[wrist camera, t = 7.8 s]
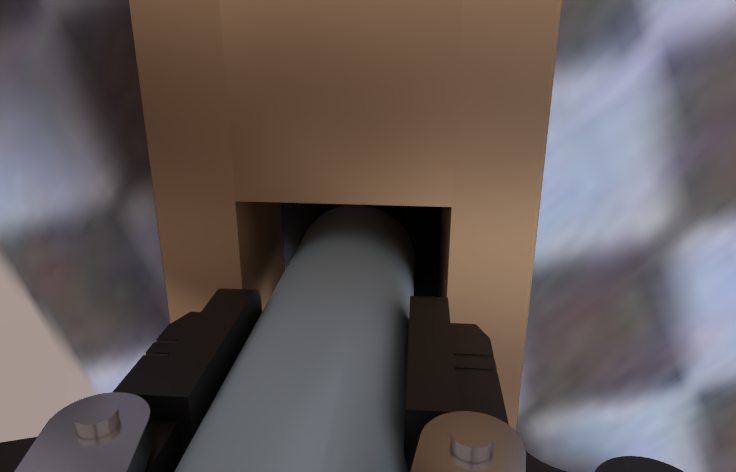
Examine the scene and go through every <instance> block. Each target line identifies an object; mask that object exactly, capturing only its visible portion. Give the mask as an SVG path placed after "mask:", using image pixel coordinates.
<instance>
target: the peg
mask: <svg viewBox="0 0 736 472" xmlns="http://www.w3.org/2000/svg"><path fill="white" fill-rule="evenodd" d="M414 271H415V255H414V249H413V245H412V242H411V240H410V238H409V236H408V234H407V232H406V231H405V229H404V228H403V227H402V226H401V224H400V223H399V222H398V221H397V220H395V219H394V218H393V217H392V216H390V215H389V214H387V213H386V212H384V211H382V210H380V209H377V208H374V207H371V206H366V205H344V206H340V207H336V208H333V209H331V210H329V211H327V212H325V213H324V214H322V215H321V216H320V217H318V218H317V219H316V220H315V221H314V222H313V223H312V224H311V225H310V227H309V228H308V230H307V231H306V233H305V235H304V237H303V239H302V241H301V242H300V244H299V246H298V248H297V250H296V251H295V253H294V255H293V257H292V259H291V261H290V262H289V264H288V266H287V268H286V270H285V271H284V273H283V275H282V277H281V279H280V281H279V282H278V284H277V286H276V288H275V290H274V291H273V293H272V295H271V297H270V299H269V301H268V302H267V304H266V306H265V308H264V310H263V311H262V313H261V315H260V317H259V319H258V321H257V322H256V324H255V326H254V328H253V330H252V331H251V333H250V335H249V337H248V339H247V341H246V342H245V344H244V346H243V348H242V350H241V351H240V353H239V355H238V357H237V359H236V361H235V362H234V364H233V366H232V368H231V370H230V371H229V373H228V375H227V377H226V379H225V381H224V382H223V384H222V386H221V388H220V390H219V391H218V393H217V395H216V397H215V399H214V401H213V402H212V404H211V406H210V408H209V410H208V411H207V413H206V415H205V417H204V419H203V421H202V422H201V424H200V426H199V428H198V430H197V431H196V433H195V435H194V437H193V439H192V441H191V442H190V444H189V446H188V448H187V450H186V451H185V453H184V455H183V457H182V459H181V461H180V462H179V464H178V466H177V468H176V470H175V471H174V472H408V469H407V464H406V460H405V457H404V441H405V407H406V383H407V359H408V335H409V311H410V296H414Z"/></svg>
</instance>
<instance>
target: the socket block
mask: <svg viewBox="0 0 736 472" xmlns="http://www.w3.org/2000/svg"><path fill="white" fill-rule="evenodd" d="M561 3H562V0H129V5H130V13H131V21H132V29H133V36H134V44H135V52H136V60H137V67H138V75H139V83H140V91H141V99H142V106H143V114H144V122H145V130H146V137H147V145H148V153H149V161H150V169H151V176H152V184H153V192H154V200H155V208H156V215H157V223H158V231H159V239H160V246H161V254H162V262H163V270H164V278H165V285H166V293H167V301H168V309H169V317H170V324H171V323H172V322H174V321H176V320H177V319H179V318H181V317H182V316H184V315H186V314H187V313H189V312H201V311H202V310H203V308H204V307H205V306H206V304H207V303H208V302H209V300H210V299H211V298H212V296H213V295H214V294H215V293H216V291H217V290H218V289H220V288H227V289H253V290H258V291H259V293H260V296H261V302H262V311H263V310H264V308H265V306H266V304H267V302H268V301H269V299H270V297H271V295H272V293H273V291H274V290H275V288H276V286H277V284H278V282H279V281H280V279H281V277H282V275H283V273H284V252H283V232H282V213H281V203H319V204H356V205H394V206H431V207H442V224H441V245H440V266H439V287H438V297H448V302H449V312H450V323H465V324H476V325H477V326H478V327H479V328H480V329H481V330H482V331H483V332H484V333H485V334H486V335H487V336H488V337H489V338H490V340H491V345H492V349H493V354H494V359H495V363H496V368H497V373H498V377H499V381H500V386H501V391H502V395H503V400H504V404H505V409H506V414H507V418H508V423H509V425H510V426H511V427H512V428H513V429H514V430H515V431H516V424H517V414H518V405H519V396H520V386H521V377H522V367H523V358H524V349H525V339H526V330H527V321H528V311H529V302H530V293H531V283H532V274H533V265H534V255H535V246H536V237H537V227H538V218H539V209H540V199H541V190H542V181H543V171H544V162H545V153H546V143H547V134H548V125H549V115H550V106H551V97H552V87H553V78H554V68H555V59H556V50H557V40H558V31H559V22H560V12H561Z"/></svg>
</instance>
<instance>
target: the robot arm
mask: <svg viewBox="0 0 736 472" xmlns="http://www.w3.org/2000/svg"><path fill="white" fill-rule="evenodd" d="M261 313H262V302H261V296H260V293H259V291H258V290H253V289H227V288H220V289H218V290H217V291H216V293H215V294H214V295H213V296H212V298H211V299H210V300H209V302H208V303H207V304H206V306H205V307H204V308H203V310H202V311H201V312H189V313H187V314H186V315H184V316H182V317H181V318H179V319H177V320H176V321H174V322H172V323H171V324H169V325H168V326H167V328H166V329H165V330H164V331H163V332H162V334H161V335H160V336H159V337H158V338H157V342H156V343H155V342H154V343H153V344H152V346H151V347H150V348H149V349H148V350H147V352H146V356H145V355H143V356H142V358H141V359H140V360H139V361H138V362H137V364H136V365H135V366H134V367H133V368H132V370H131V371H130V372H129V373H128V374H127V376H126V377H125V378H124V379H123V380H122V382H121V383H120V384H119V385H118V386H117V388H116V389H115V390H114V391H113V392H112V393H103V394H98V395H94V396H90V397H87V398H84V399H81V400H79V401H76V402H74V403H72V404H70V405H68V406H67V407H65V408H63V409H62V410H60V411H59V412H58V413H57V414H55V415H54V416H53V417H52V418H51V419H50V420H49V421H48V422H47V424H46V425H45V427H44V428H43V429H42V431H41V433H40V434H39V436H38V437H34V438H27V439H21V440H15V441H9V442H2V443H0V472H174V471H175V470H176V468H177V466H178V464H179V462H180V461H181V459H182V457H183V455H184V453H185V451H186V450H187V448H188V446H189V444H190V442H191V441H192V439H193V437H194V435H195V433H196V431H197V430H198V428H199V426H200V424H201V422H202V421H203V419H204V417H205V415H206V413H207V411H208V410H209V408H210V406H211V404H212V402H213V401H214V399H215V397H216V395H217V393H218V391H219V390H220V388H221V386H222V384H223V382H224V381H225V379H226V377H227V375H228V373H229V371H230V370H231V368H232V366H233V364H234V362H235V361H236V359H237V357H238V355H239V353H240V351H241V350H242V348H243V346H244V344H245V342H246V341H247V339H248V337H249V335H250V333H251V331H252V330H253V328H254V326H255V324H256V322H257V321H258V319H259V317H260V315H261ZM404 457H405V460H406V464H407V469H408V472H566V471H563V470H560V469H557V468H554V467H552V466H549V465H547V464H545V463H543V462H541V461H539V460H538V459H536V458H534V457H533V456H531V455H530V454H529V453H527V452H526V449H525V445H524V442H523V440H522V438H521V437H520V435H519V434H518V433H517V432H516V431H515V430H514V429H513V428H512V427H511V426H510V425H509V423H508V418H507V414H506V409H505V404H504V400H503V395H502V391H501V386H500V381H499V377H498V373H497V368H496V363H495V359H494V354H493V349H492V345H491V340H490V338H489V337H488V336H487V335H486V334H485V333H484V332H483V331H482V330H481V329H480V328H479V327H478V326H477V325H476V324H465V323H450V312H449V302H448V297H427V296H410V311H409V335H408V359H407V383H406V407H405V441H404ZM595 472H683V471H682V470H680V469H677V468H675V467H673V466H671V465H669V464H666V463H664V462H661V461H657V460H654V459H650V458H644V457H636V456H623V457H617V458H612V459H610V460H607V461H605V462H604V463H602V464H601V465H600V466H599V467H598V468H597V469H596V470H595Z"/></svg>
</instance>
